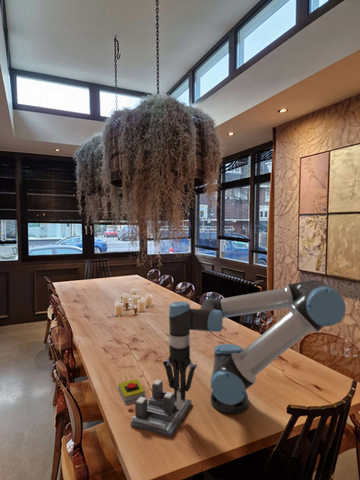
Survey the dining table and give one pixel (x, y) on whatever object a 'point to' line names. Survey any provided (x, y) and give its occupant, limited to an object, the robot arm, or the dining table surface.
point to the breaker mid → (168, 402)
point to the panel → (161, 417)
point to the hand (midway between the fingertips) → (180, 407)
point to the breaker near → (141, 408)
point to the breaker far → (157, 389)
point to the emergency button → (131, 391)
